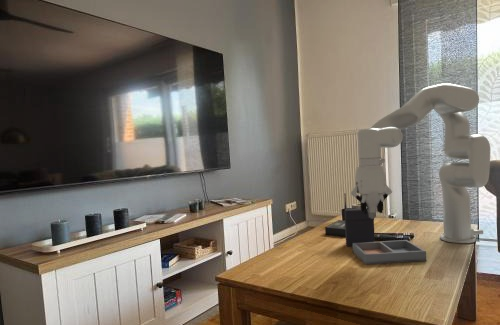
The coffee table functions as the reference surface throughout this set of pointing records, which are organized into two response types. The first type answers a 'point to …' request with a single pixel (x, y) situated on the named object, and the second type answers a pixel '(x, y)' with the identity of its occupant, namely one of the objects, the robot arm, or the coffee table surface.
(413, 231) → the coffee table surface
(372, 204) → the lightbulb
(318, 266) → the coffee table surface
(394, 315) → the coffee table surface
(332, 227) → the wireless controller
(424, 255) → the sorting tray
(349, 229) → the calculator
